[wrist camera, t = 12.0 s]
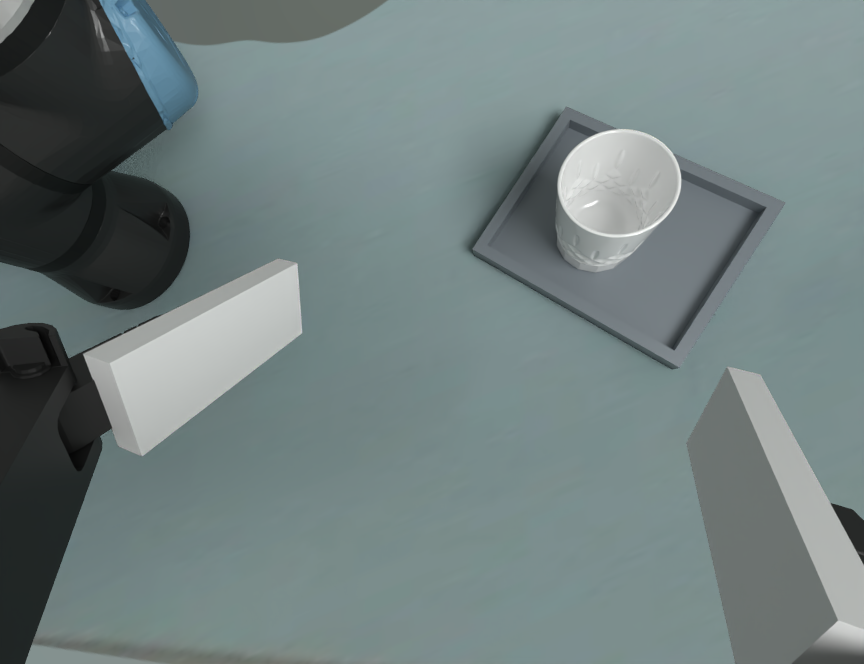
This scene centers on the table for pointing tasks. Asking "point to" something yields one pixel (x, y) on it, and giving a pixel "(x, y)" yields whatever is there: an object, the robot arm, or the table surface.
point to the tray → (648, 265)
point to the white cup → (613, 197)
